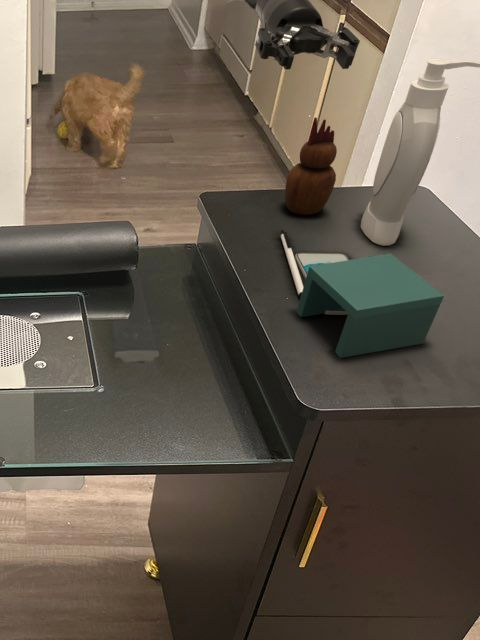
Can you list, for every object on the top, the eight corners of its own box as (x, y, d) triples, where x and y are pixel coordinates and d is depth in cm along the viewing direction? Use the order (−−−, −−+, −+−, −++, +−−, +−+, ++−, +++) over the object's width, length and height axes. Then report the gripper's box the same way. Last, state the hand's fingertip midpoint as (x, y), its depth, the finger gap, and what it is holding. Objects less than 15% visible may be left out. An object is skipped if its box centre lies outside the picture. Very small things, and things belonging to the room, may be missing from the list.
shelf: (373, 299, 96) (390, 253, 91) (423, 343, 88) (444, 295, 84) (295, 312, 94) (309, 266, 90) (340, 358, 87) (357, 310, 82)
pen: (284, 233, 110) (286, 227, 109) (307, 304, 95) (309, 297, 95) (278, 233, 110) (280, 226, 109) (300, 304, 96) (302, 297, 95)
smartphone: (345, 252, 104) (382, 312, 93) (343, 258, 105) (379, 317, 93) (293, 252, 105) (323, 310, 93) (292, 257, 105) (321, 316, 94)
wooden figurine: (281, 217, 114) (305, 122, 104) (278, 200, 118) (301, 108, 108) (327, 220, 112) (356, 124, 102) (323, 203, 116) (350, 109, 107)
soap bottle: (424, 254, 103) (495, 78, 87) (365, 250, 105) (424, 76, 89) (408, 212, 113) (470, 46, 97) (354, 209, 114) (406, 45, 99)
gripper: (252, -3, 117) (277, 37, 105) (342, -4, 116) (377, 36, 105) (240, 45, 122) (264, 88, 111) (326, 44, 121) (358, 87, 110)
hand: (319, 62), depth 108 cm, fingers open, 8 cm apart
